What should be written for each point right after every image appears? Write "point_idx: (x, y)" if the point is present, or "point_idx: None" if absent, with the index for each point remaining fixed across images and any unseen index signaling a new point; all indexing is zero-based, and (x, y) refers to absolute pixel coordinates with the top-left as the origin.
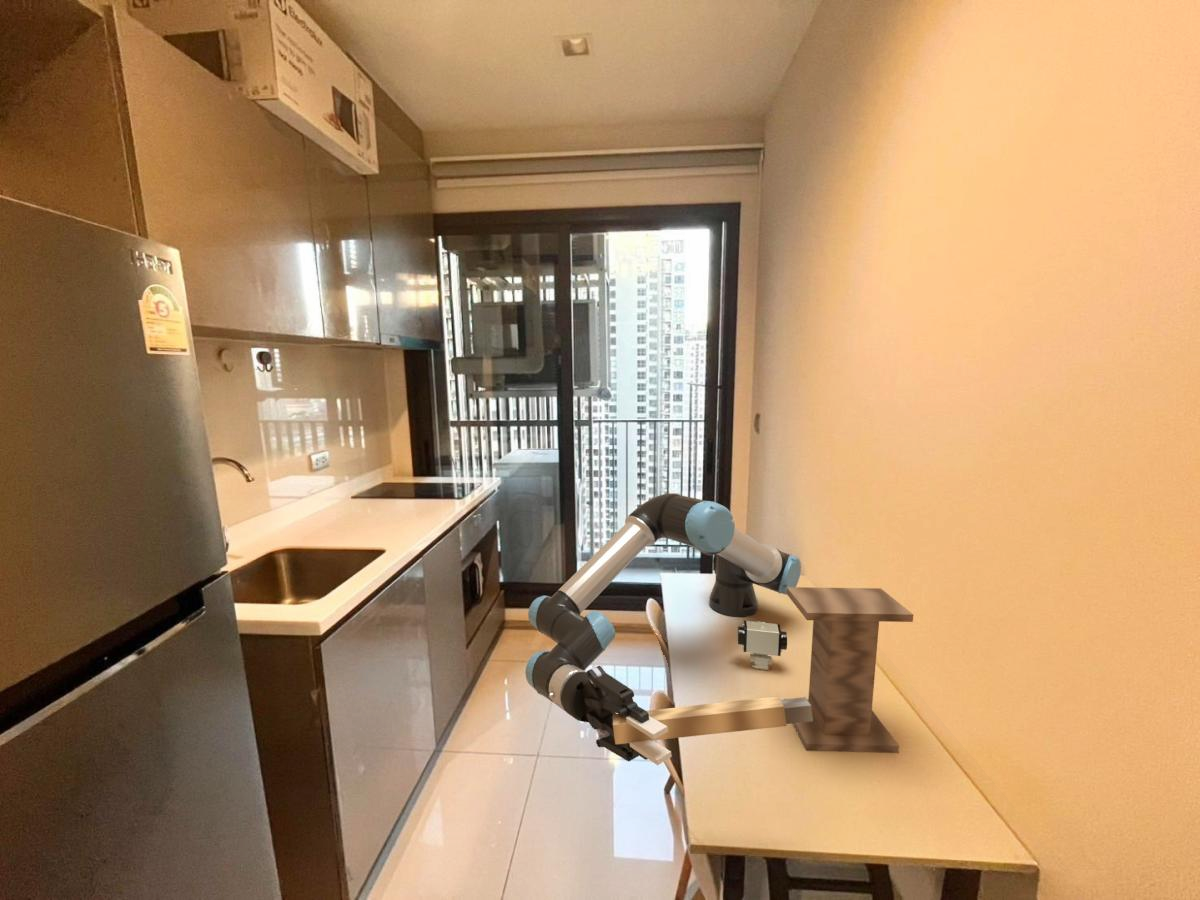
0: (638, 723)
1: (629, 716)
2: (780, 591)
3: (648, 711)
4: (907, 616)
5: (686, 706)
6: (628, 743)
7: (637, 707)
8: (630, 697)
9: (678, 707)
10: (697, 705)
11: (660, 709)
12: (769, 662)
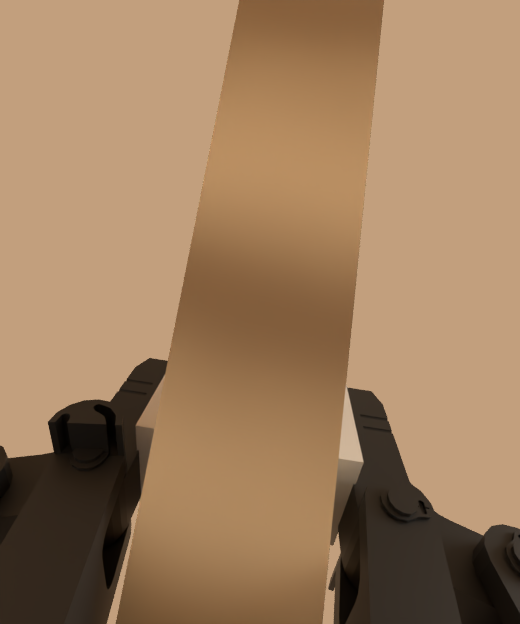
0: None
1: (338, 522)
2: None
3: (341, 386)
4: None
5: (375, 79)
6: (127, 537)
7: (397, 467)
8: (476, 544)
9: (369, 137)
10: (381, 16)
11: (355, 278)
12: None
